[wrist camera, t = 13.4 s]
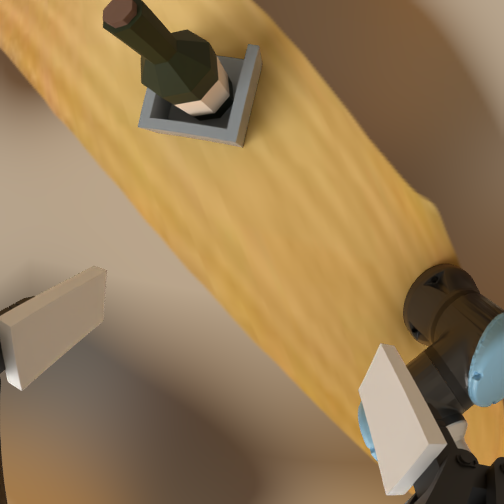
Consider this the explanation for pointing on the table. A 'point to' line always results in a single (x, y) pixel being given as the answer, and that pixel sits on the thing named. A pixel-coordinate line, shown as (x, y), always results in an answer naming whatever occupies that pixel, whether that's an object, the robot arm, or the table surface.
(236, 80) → the bottle stand
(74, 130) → the table surface
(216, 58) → the wine bottle
